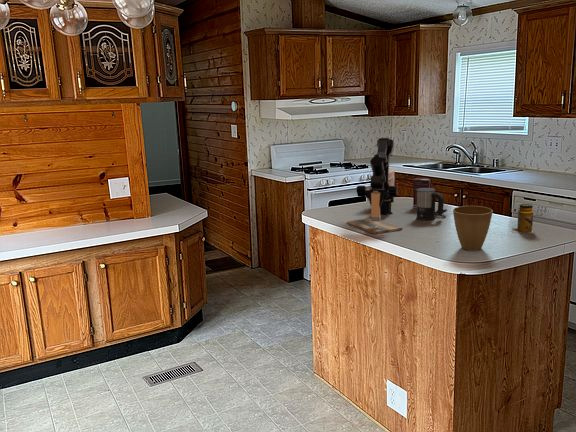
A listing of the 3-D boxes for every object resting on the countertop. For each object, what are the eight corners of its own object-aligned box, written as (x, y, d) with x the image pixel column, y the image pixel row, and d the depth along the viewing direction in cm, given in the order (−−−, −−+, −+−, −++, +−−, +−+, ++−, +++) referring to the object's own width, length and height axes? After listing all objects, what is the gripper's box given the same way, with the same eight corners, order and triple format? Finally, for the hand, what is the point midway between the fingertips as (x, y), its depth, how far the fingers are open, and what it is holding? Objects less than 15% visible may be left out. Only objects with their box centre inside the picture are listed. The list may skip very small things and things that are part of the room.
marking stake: (372, 219, 254) (371, 190, 251) (380, 219, 253) (380, 190, 250) (371, 221, 250) (370, 191, 247) (379, 221, 249) (379, 191, 246)
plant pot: (445, 245, 222) (445, 207, 218) (477, 241, 225) (478, 204, 221) (464, 255, 207) (465, 215, 204) (498, 251, 211) (500, 211, 207)
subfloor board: (373, 219, 272) (373, 217, 272) (402, 229, 249) (402, 227, 249) (347, 223, 266) (347, 221, 266) (374, 234, 244) (374, 232, 244)
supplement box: (430, 207, 294) (430, 178, 290) (428, 209, 290) (429, 180, 286) (414, 206, 297) (414, 178, 294) (412, 208, 293) (412, 179, 290)
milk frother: (414, 219, 268) (414, 190, 264) (420, 213, 282) (420, 185, 278) (443, 221, 262) (444, 191, 259) (448, 214, 276) (448, 186, 273)
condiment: (533, 233, 234) (535, 206, 231) (512, 232, 236) (514, 206, 234) (531, 229, 240) (533, 203, 238) (511, 228, 243) (512, 202, 240)
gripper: (356, 168, 253) (353, 196, 245) (396, 168, 247) (394, 196, 240) (359, 182, 262) (356, 209, 254) (398, 182, 257) (396, 210, 249)
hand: (375, 206), depth 249 cm, fingers closed on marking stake, 4 cm apart
